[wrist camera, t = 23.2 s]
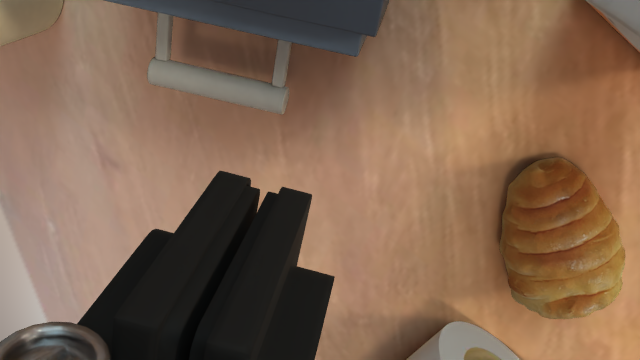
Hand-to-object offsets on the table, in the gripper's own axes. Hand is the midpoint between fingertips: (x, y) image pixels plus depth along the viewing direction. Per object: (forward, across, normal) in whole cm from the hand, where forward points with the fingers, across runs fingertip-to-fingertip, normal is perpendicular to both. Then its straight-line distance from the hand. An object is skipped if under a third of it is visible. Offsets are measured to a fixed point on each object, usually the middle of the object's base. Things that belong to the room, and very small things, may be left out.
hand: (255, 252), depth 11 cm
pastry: (+24, -14, +11) cm, 30 cm away
